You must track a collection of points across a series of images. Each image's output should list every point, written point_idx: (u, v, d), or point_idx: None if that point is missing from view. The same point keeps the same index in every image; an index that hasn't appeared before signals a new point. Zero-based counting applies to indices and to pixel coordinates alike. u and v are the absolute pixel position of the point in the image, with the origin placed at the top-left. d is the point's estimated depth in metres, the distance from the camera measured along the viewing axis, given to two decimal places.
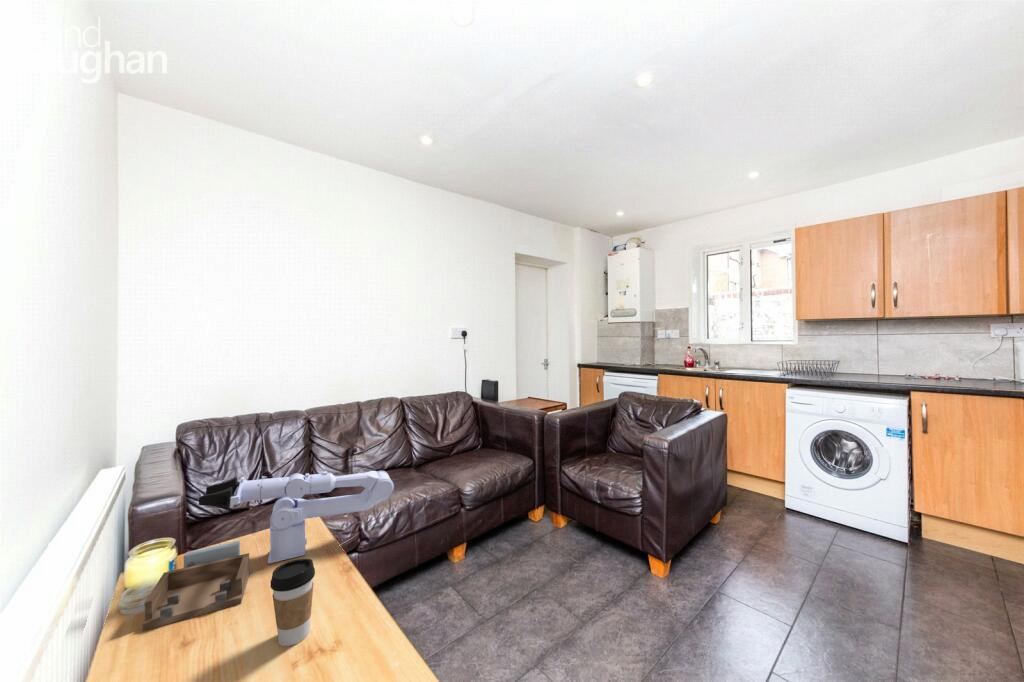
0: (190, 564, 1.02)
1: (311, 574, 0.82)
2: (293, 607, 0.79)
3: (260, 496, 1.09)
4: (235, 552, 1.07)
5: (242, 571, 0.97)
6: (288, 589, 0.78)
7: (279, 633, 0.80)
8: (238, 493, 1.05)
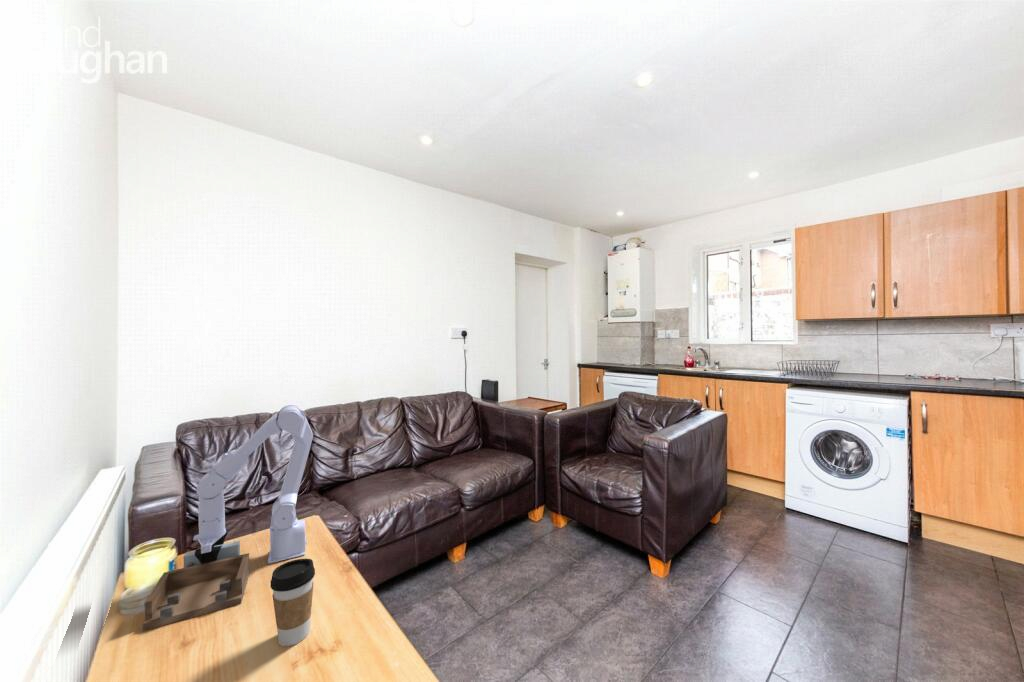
0: (190, 564, 1.01)
1: (311, 574, 0.82)
2: (293, 607, 0.79)
3: (215, 519, 1.04)
4: (235, 552, 1.07)
5: (242, 571, 0.97)
6: (288, 589, 0.78)
7: (279, 633, 0.80)
8: (201, 544, 1.00)
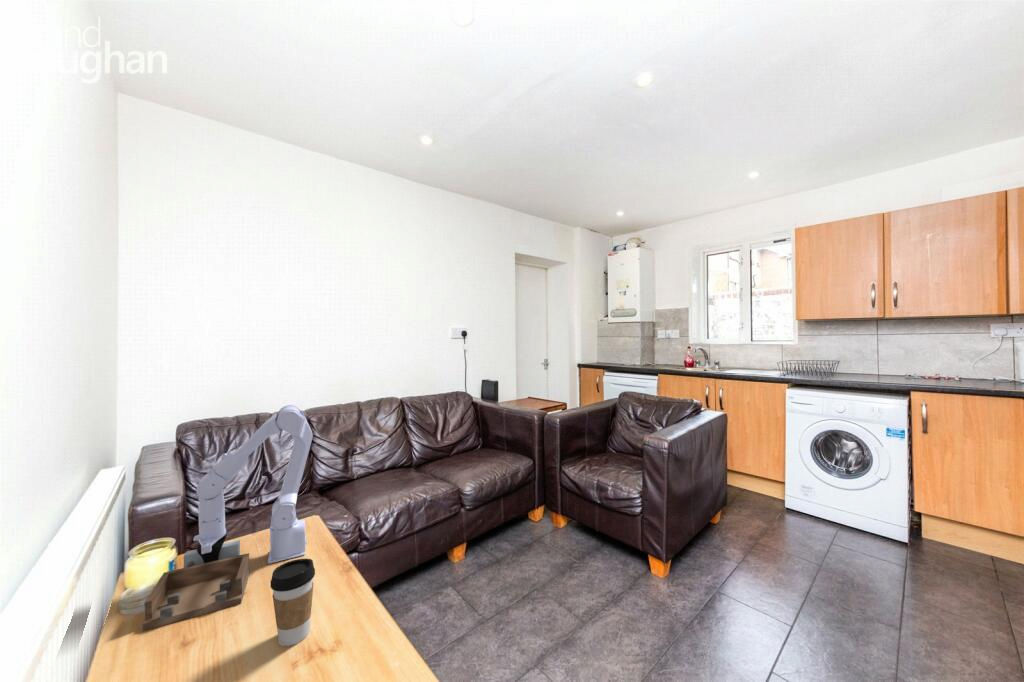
0: (190, 563, 1.01)
1: (311, 574, 0.82)
2: (293, 607, 0.79)
3: (215, 520, 1.04)
4: (235, 552, 1.07)
5: (242, 571, 0.97)
6: (288, 589, 0.78)
7: (279, 633, 0.80)
8: (201, 545, 1.00)
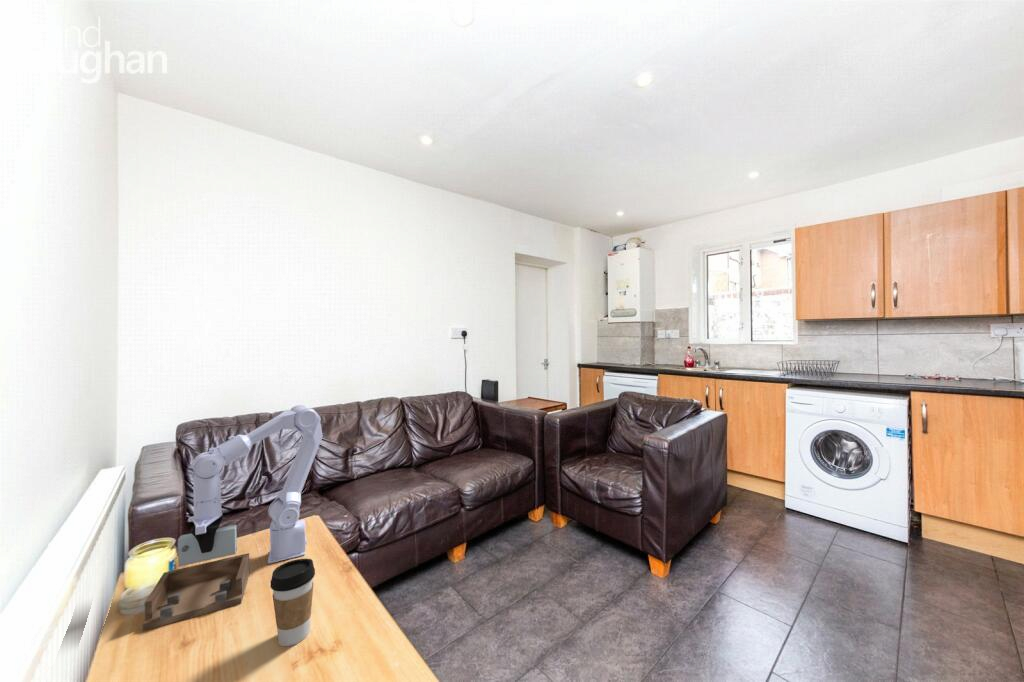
0: (184, 548, 0.98)
1: (311, 574, 0.82)
2: (293, 607, 0.79)
3: (210, 500, 1.00)
4: (232, 537, 1.03)
5: (242, 571, 0.97)
6: (288, 589, 0.78)
7: (279, 633, 0.80)
8: None
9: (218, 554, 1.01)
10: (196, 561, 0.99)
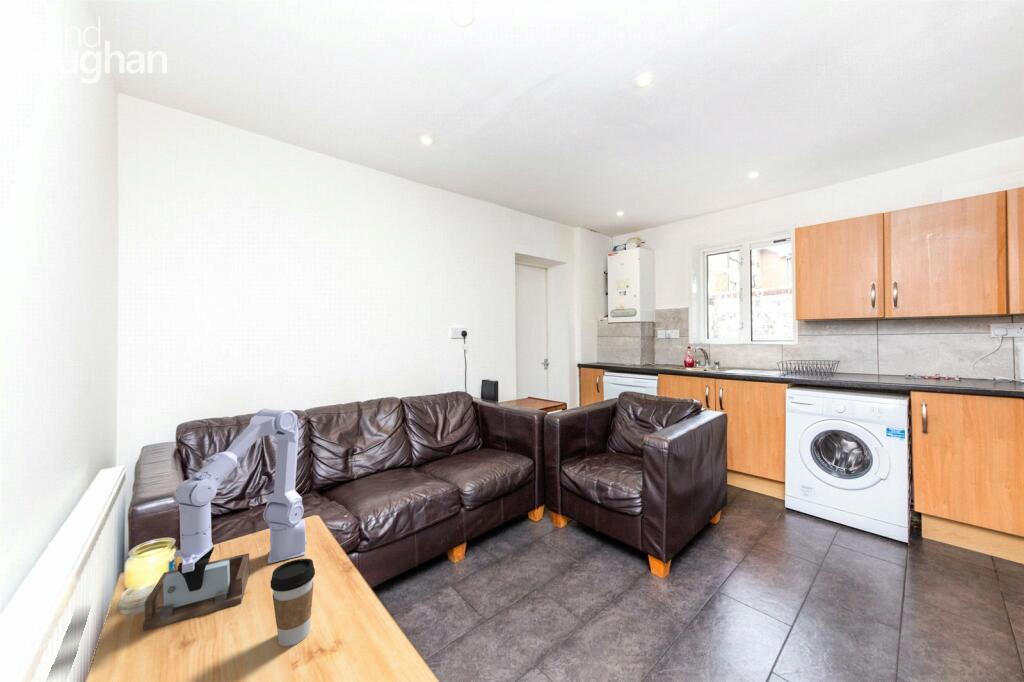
0: (171, 589, 0.87)
1: (311, 574, 0.82)
2: (293, 607, 0.79)
3: (199, 532, 0.89)
4: (224, 574, 0.93)
5: (242, 571, 0.97)
6: (288, 589, 0.78)
7: (279, 633, 0.80)
8: (182, 562, 0.86)
9: (209, 594, 0.91)
10: (184, 603, 0.89)
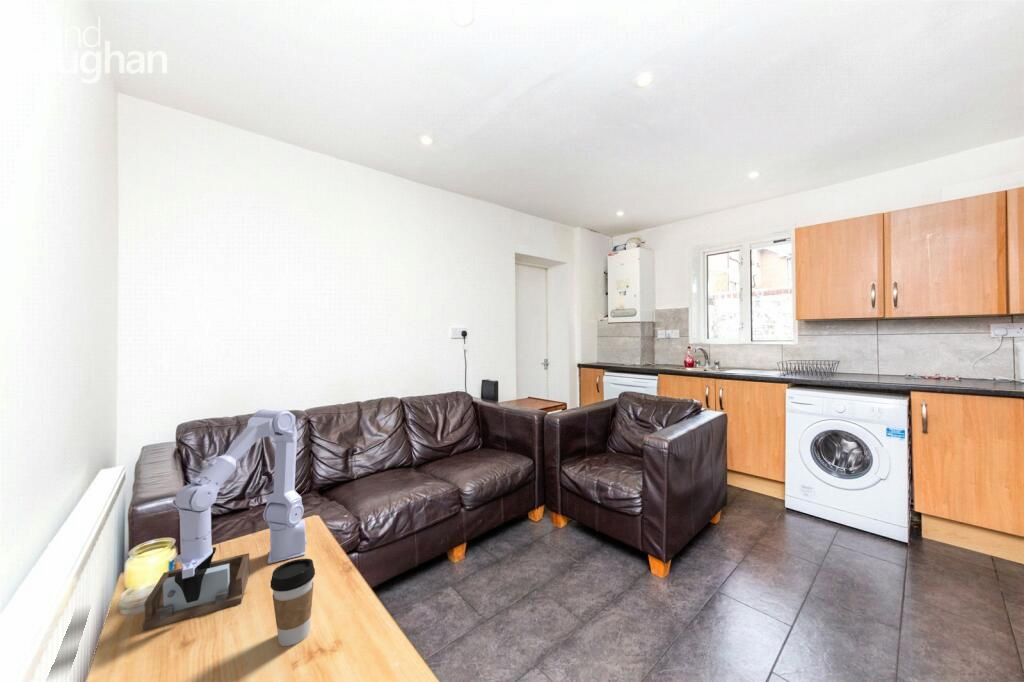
0: (171, 593, 0.87)
1: (311, 574, 0.82)
2: (293, 607, 0.79)
3: (199, 537, 0.89)
4: (224, 578, 0.93)
5: (242, 571, 0.97)
6: (288, 589, 0.78)
7: (279, 633, 0.80)
8: None
9: (209, 598, 0.91)
10: (184, 607, 0.89)
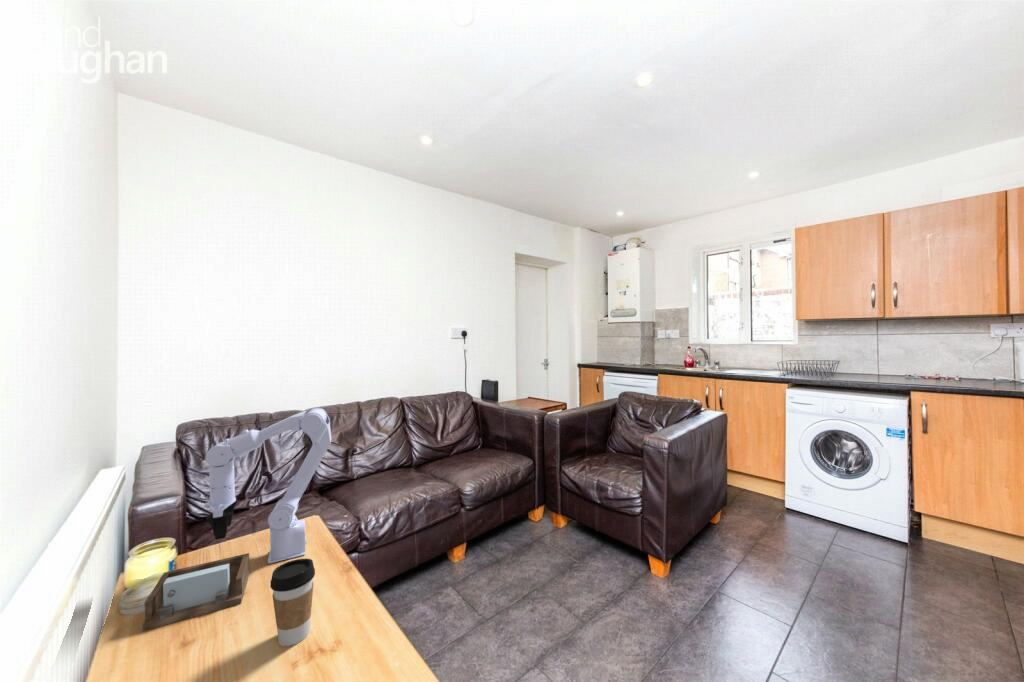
0: (171, 593, 0.87)
1: (311, 574, 0.82)
2: (293, 607, 0.79)
3: (225, 486, 1.07)
4: (224, 578, 0.93)
5: (242, 571, 0.97)
6: (288, 589, 0.78)
7: (279, 633, 0.80)
8: None
9: (209, 598, 0.91)
10: (184, 607, 0.89)
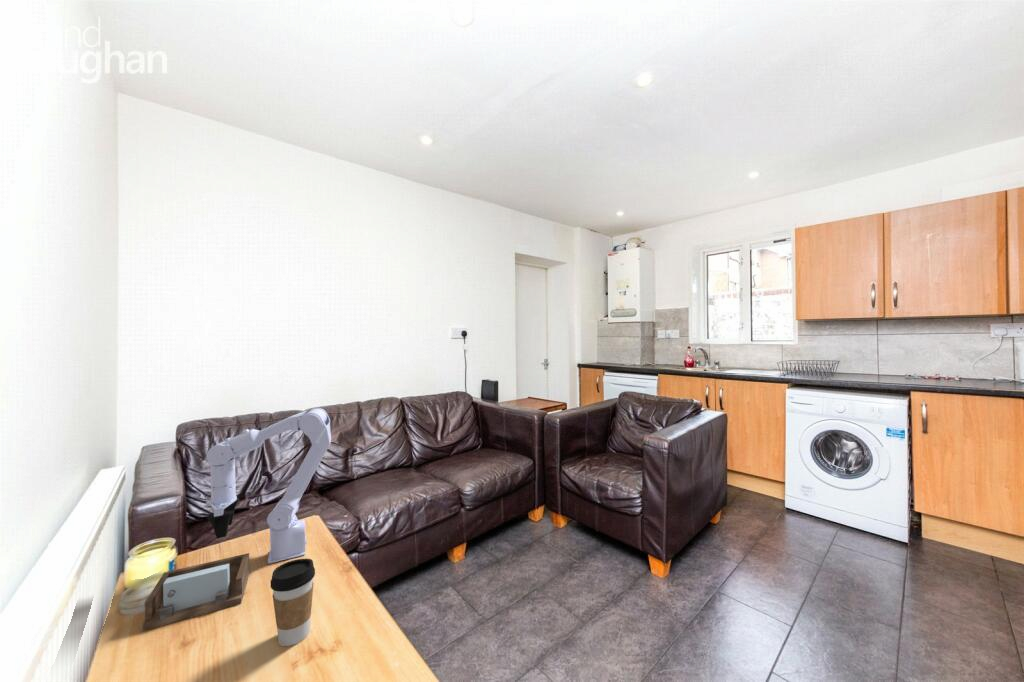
0: (171, 593, 0.87)
1: (311, 574, 0.82)
2: (293, 607, 0.79)
3: (226, 485, 1.08)
4: (224, 578, 0.93)
5: (242, 571, 0.97)
6: (288, 589, 0.78)
7: (279, 633, 0.80)
8: (213, 508, 1.04)
9: (209, 598, 0.91)
10: (184, 607, 0.89)
